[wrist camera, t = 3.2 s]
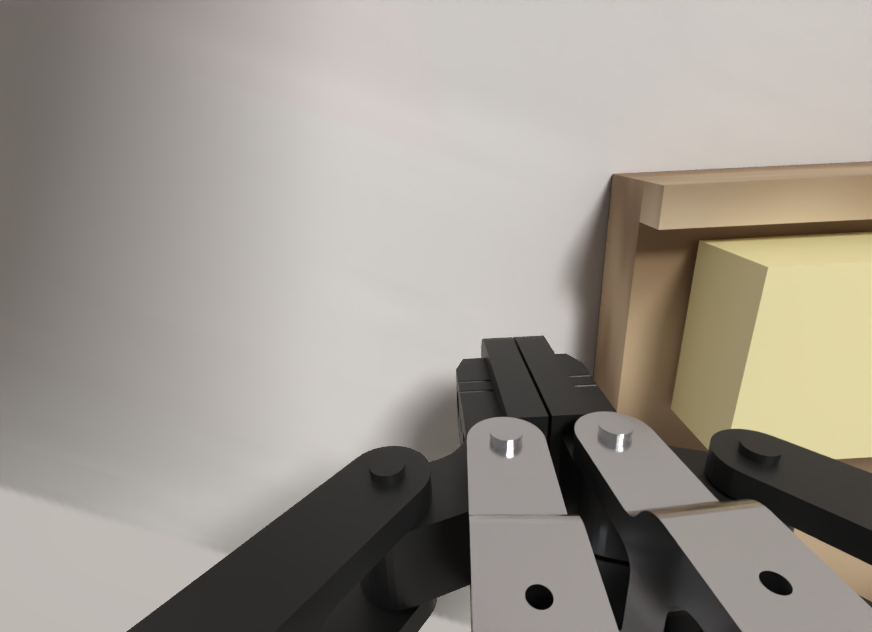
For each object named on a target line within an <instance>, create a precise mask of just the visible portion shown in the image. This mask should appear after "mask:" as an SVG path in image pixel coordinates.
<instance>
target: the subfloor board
mask: <svg viewBox="0 0 872 632" xmlns="http://www.w3.org/2000/svg"><path fill="white" fill-rule="evenodd" d="M854 232H872V162H851V163H831V164H810V165H789V166H768V167H748V168H727V169H706V170H686V171H665V172H644V173H624V174H613V176H612V187H611V197H610V208H609V219H608V229H607V240H606V250H605V261H604V271H603V282H602V293H601V303H600V314H599V324H598V335H597V345H596V356H595V367H594V377H593V379H594V381H595V382H596V384H597V386H599V388H600V389H601V391H602V392H603V393H604V395H605V396H606V398H607V399H608V400H609V402H610V403H611V404H612V406H613V407H614V409H615V410H616V411H617V413H621V414H625V415H629V416H632V417H634V418H636V419H638V420H640V421H642V422H644V423H645V424H647V425H648V426H649V427H650V428H651V429H652V430H653V431H654V432H655V433H656V434H657V435H658V436H659V437H660V438H661V439H662V440H663V442H664V443H665V444H666V445H668V446H673V447H680V448H687V449H693V450H700V451H707V452H708V449H707V448H706V447H705V446H704V445H703V444H702V443H701V442H700V440H699V439H698V438H697V437H696V436H695V435H694V434H693V433H692V432H691V431H690V429H689V428H688V427H687V426H686V425H685V424H684V423H683V422H682V421H681V420H680V418H679V417H678V416H677V415H676V414H675V413H674V412H673V411H672V410H671V404H672V398H673V392H674V386H675V380H676V375H677V369H678V363H679V357H680V351H681V345H682V339H683V333H684V327H685V322H686V316H687V310H688V304H689V298H690V292H691V286H692V280H693V275H694V269H695V263H696V257H697V251H698V245H699V240H715V239H735V238H755V237H775V236H794V235H814V234H834V233H854ZM835 460H838V461H841V462H843V463H846V464H848V465H851V466H854V467H856V468H859V469H862V470H864V471H867V472H870V473H872V457H866V458H849V459H835ZM793 533H794V534H795V535H796V536H797V537H798V538H799V539H800V540H801V541H803V542H804V543H805V544H806V545H807V546H808V547H809V548H810V549H811V550H812V551H813V552H814V553H815V554H816V555H817V556H818V557H819V558H820V559H821V560H822V561H823V562H824V563H825V564H827V565H828V566H829V567H830V568H831V569H832V570H833V571H834V572H835V573H836V574H837V575H838V576H839V577H840V578H841V579H842V580H843V581H844V582H845V583H846V584H847V585H848V586H849V587H851V588H852V589H853V590H854V591H855V592H856V593H857V594H858V595H860V596H862V597H864V598H866V599H867V600H869V601H871V602H872V565H870V564H867V563H865V562H863V561H861V560H859V559H857V558H855V557H853V556H851V555H849V554H847V553H845V552H843V551H841V550H839V549H837V548H835V547H832V546H830V545H828V544H826V543H824V542H822V541H820V540H818V539H816V538H814V537H812V536H810V535H808V534H806V533H804V532H802V531H800V530H797V529H795V528H794V532H793Z"/></svg>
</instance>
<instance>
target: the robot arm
mask: <svg viewBox="0 0 872 632" xmlns="http://www.w3.org/2000/svg"><path fill="white" fill-rule="evenodd" d="M456 380H457V415H458V429H459V436H460V444H461V446H460V447H459V448H458V449H457V450H456V451H455V452H453V453H452V454H450V455H448V456H446V457H444V458H441V459H439V460H436V461H432V462H429V463H428V461H427V459H426V458H425V457H424V456H423V455H422V454H421V453H419V452H417V451H415V450H413V449H410V448H406V447H400V446H387V447H381V448H377V449H373V450H371V451H368V452H366V453H364V454H362V455H361V456H359V457H358V458H356V459H355V460H354V461H352V462H351V463H350V464H348V465H347V466H346V467H344V468H343V469H342V470H340V471H339V472H338V473H336V474H335V475H334V476H332V477H331V478H330V479H328V480H327V481H326V482H324V483H323V484H322V485H321V486H319V487H318V488H317V489H315V490H314V491H313V492H311V493H310V494H309V495H307V496H306V497H305V498H303V499H302V500H301V501H299V502H298V503H297V504H295V505H294V506H293V507H291V508H290V509H289V510H287V511H286V512H285V513H283V514H282V515H281V516H279V517H278V518H277V519H275V520H274V521H273V522H271V523H270V524H269V525H267V526H266V527H265V528H263V529H262V530H261V531H260V532H258V533H257V534H256V535H254V536H253V537H252V538H250V539H249V540H248V541H246V542H245V543H244V544H242V545H241V546H240V547H238V548H237V549H236V550H234V551H233V552H232V553H230V554H229V555H228V556H226V557H225V558H224V559H222V560H221V561H220V562H218V563H217V564H216V565H214V566H213V567H212V568H210V569H209V570H208V571H207V572H205V573H204V574H203V575H201V576H200V577H199V578H197V579H196V580H195V581H193V582H192V583H191V584H189V585H188V586H187V587H185V588H184V589H183V590H181V591H180V592H179V593H177V594H176V595H175V596H173V597H172V598H171V599H169V600H168V601H167V602H165V603H164V604H163V605H161V606H160V607H159V608H157V609H156V610H155V611H153V612H152V613H151V614H150V615H148V616H147V617H145V618H144V619H143V620H142V621H140V622H139V623H138V624H136V625H135V626H134V627H132V628H131V629H130V630H128V631H127V632H418V631H419V630H420V628H421V627H422V626H423V624H424V623H425V622H426V620H427V619H428V618H429V616H430V615H431V613H432V612H433V610H434V608H435V605H436V602H437V597H440V596H442V595H445V594H447V593H450V592H452V591H455V590H457V589H460V588H462V587H465V586H467V585H470V603H471V632H872V602H871V601H869V600H867V599H866V598H864V597H862V596H860V595H858V594H857V593H856V592H855V591H854V590H853V589H852V588H851V587H849V586H848V585H847V584H846V583H845V582H844V581H843V580H842V579H841V578H840V577H839V576H838V575H837V574H836V573H835V572H834V571H833V570H832V569H831V568H830V567H829V566H828V565H827V564H825V563H824V562H823V561H822V560H821V559H820V558H819V557H818V556H817V555H816V554H815V553H814V552H813V551H812V550H811V549H810V548H809V547H808V546H807V545H806V544H805V543H804V542H803V541H801V540H800V539H799V538H798V537H797V536H796V535H795V534H794V533H793V532H794V528H795V529H797V530H800V531H802V532H804V533H806V534H808V535H810V536H812V537H814V538H816V539H818V540H820V541H822V542H824V543H826V544H828V545H830V546H832V547H835V548H837V549H839V550H841V551H843V552H845V553H847V554H849V555H851V556H853V557H855V558H857V559H859V560H861V561H863V562H865V563H867V564H870V565H872V473H870V472H867V471H864V470H862V469H859V468H856V467H854V466H851V465H848V464H846V463H843V462H841V461H838V460H835V459H833V458H830V457H827V456H825V455H822V454H819V453H817V452H814V451H811V450H809V449H806V448H803V447H801V446H798V445H795V444H793V443H790V442H787V441H785V440H782V439H779V438H777V437H774V436H771V435H768V434H765V433H762V432H758V431H753V430H747V429H726V430H722V431H719V432H717V433H715V434H714V435H713V436H712V437H711V440H710V444H709V449H708V452H707V451H700V450H693V449H687V448H680V447H673V446H668V445H666V444H665V443H664V442H663V440H662V439H661V438H660V437H659V436H658V435H657V434H656V433H655V432H654V431H653V430H652V429H651V428H650V427H649V426H648V425H647V424H645V423H644V422H642V421H640V420H638V419H636V418H634V417H632V416H629V415H625V414H621V413H617V411H616V410H615V409H614V407H613V406H612V404H611V403H610V402H609V400H608V399H607V398H606V396H605V395H604V393H603V392H602V391H601V389H600V388H599V386H597V384H596V382H595V381H594V379H593V378H592V377H590V374H589V372H588V371H587V370H586V368H585V367H584V365H583V364H582V363H581V362H579V361H578V360H576V359H574V358H573V357H571V356H569V355H568V354H555V353H554V351H553V350H552V348H551V347H550V345H549V343H548V342H547V340H546V339H545V337H544V336H527V337H513V338H512V337H509V338H490V339H482V346H481V358H475V359H463V360H462V362H461V363H460V365H459V366H458V368H457V369H456Z"/></svg>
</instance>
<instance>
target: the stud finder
mask: <svg viewBox="0 0 872 632" xmlns="http://www.w3.org/2000/svg"><path fill="white" fill-rule="evenodd" d="M671 410H672V411H673V412H674V413H675V414H676V415H677V416H678V417H679V418H680V420H681V421H682V422H683V423H684V424H685V425H686V426H687V427H688V428H689V429H690V431H691V432H692V433H693V434H694V435H695V436H696V437H697V438H698V439H699V440H700V442H701V443H702V444H703V445H704V446H705V447H706V448H707V449H709V444H710V440H711V437H712V436H713V435H714V434H715V433H717V432H719V431H722V430H726V429H747V430H753V431H758V432H762V433H765V434H768V435H771V436H774V437H777V438H779V439H782V440H785V441H787V442H790V443H793V444H795V445H798V446H801V447H803V448H806V449H809V450H811V451H814V452H817V453H819V454H822V455H825V456H827V457H830V458H833V459H849V458H866V457H872V232H854V233H834V234H814V235H794V236H775V237H755V238H735V239H715V240H699V245H698V251H697V257H696V263H695V269H694V275H693V280H692V286H691V292H690V298H689V304H688V310H687V316H686V322H685V327H684V333H683V339H682V345H681V351H680V357H679V363H678V369H677V375H676V380H675V386H674V392H673V398H672V404H671Z"/></svg>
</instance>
